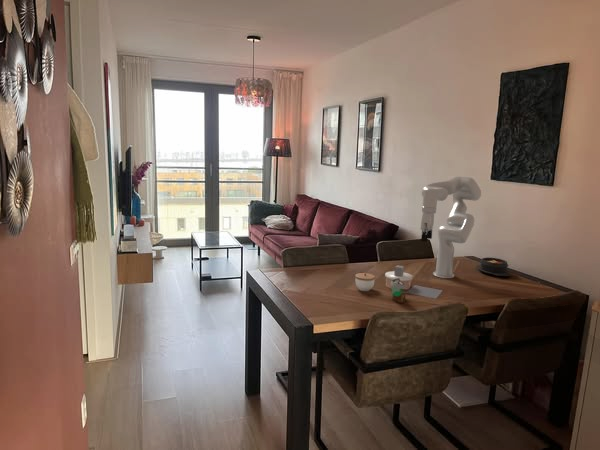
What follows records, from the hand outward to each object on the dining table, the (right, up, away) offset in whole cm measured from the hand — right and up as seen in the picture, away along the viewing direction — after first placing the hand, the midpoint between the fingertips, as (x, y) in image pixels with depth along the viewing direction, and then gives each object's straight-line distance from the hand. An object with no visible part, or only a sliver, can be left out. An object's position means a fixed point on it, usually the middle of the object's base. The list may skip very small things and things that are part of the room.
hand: (426, 239), depth 246 cm
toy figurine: (-22, -30, -23) cm, 44 cm away
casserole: (+53, -23, +34) cm, 67 cm away
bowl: (-17, -27, -2) cm, 31 cm away
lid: (-16, -21, -3) cm, 27 cm away
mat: (-4, -28, -10) cm, 30 cm away
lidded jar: (-36, -27, -8) cm, 46 cm away
